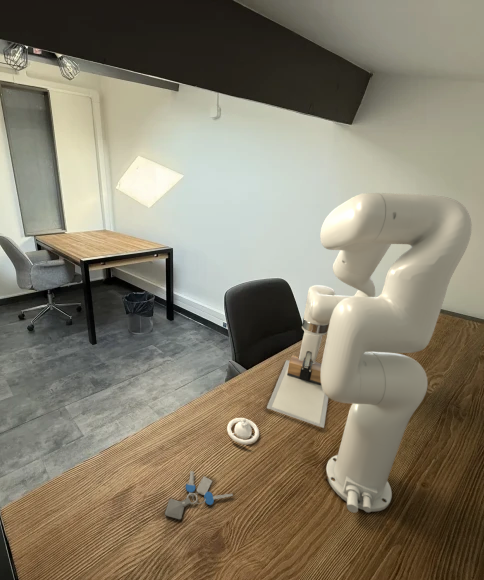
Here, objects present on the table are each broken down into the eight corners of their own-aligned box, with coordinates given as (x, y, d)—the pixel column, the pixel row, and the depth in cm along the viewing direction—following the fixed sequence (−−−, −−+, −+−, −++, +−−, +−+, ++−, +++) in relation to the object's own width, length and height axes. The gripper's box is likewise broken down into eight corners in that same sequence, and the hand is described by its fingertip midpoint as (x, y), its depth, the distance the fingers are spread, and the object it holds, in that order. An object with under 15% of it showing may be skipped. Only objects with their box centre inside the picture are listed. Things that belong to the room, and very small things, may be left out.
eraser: (322, 386, 95) (325, 372, 93) (287, 375, 100) (289, 362, 98) (324, 377, 99) (327, 364, 98) (290, 367, 104) (292, 355, 102)
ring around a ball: (247, 420, 82) (220, 428, 79) (249, 403, 79) (222, 411, 76) (264, 443, 75) (236, 453, 72) (267, 426, 73) (239, 435, 70)
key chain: (168, 525, 56) (168, 522, 56) (155, 486, 63) (155, 483, 63) (233, 497, 61) (233, 494, 61) (215, 464, 68) (215, 461, 68)
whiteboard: (323, 431, 79) (324, 428, 79) (265, 410, 85) (266, 407, 85) (331, 374, 103) (332, 372, 102) (286, 362, 109) (286, 359, 109)
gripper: (306, 312, 102) (298, 359, 108) (298, 333, 88) (289, 385, 94) (330, 317, 99) (320, 365, 105) (325, 340, 84) (314, 393, 91)
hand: (306, 374), depth 99 cm, fingers closed on eraser, 5 cm apart
